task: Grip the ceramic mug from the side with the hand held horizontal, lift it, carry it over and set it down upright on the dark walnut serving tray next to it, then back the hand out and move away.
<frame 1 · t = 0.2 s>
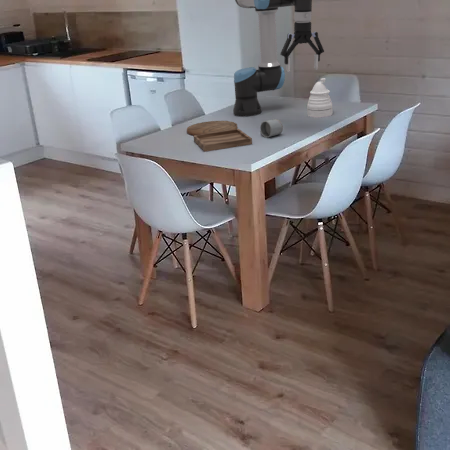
hand: (302, 70, 287), 27 cm above the table, tool pointing down, fingers open, 13 cm apart
ceramic mug: (269, 135, 292), on the table
honey pot: (319, 114, 323), on the table
walnut tray: (222, 142, 287), on the table
trivet: (212, 131, 311), on the table
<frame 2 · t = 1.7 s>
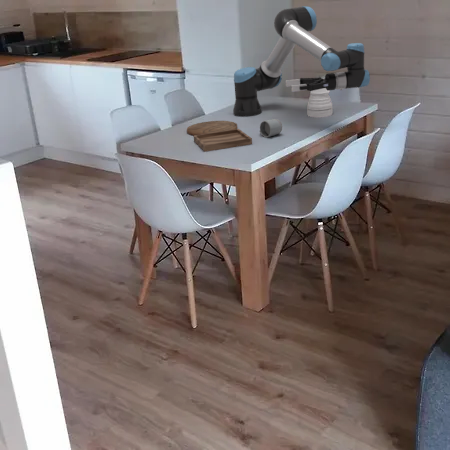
hand: (288, 86, 284), 22 cm above the table, tool horizontal, fingers open, 13 cm apart
nothing on the table moved.
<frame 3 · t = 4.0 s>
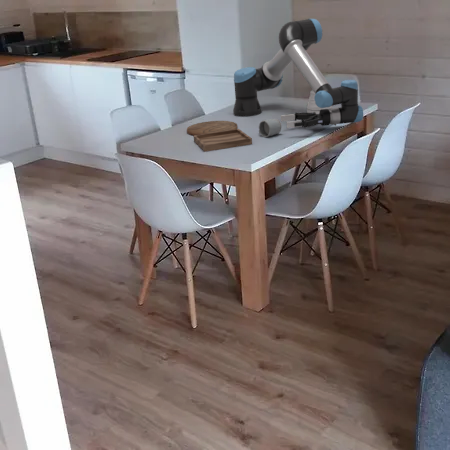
hand: (283, 121, 290), 6 cm above the table, tool horizontal, fingers open, 13 cm apart
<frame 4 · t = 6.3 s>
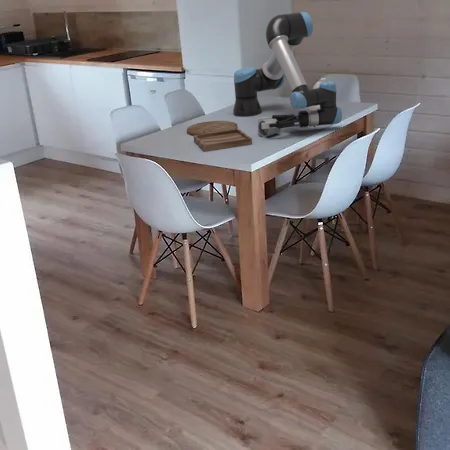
hand: (259, 123, 290), 6 cm above the table, tool horizontal, fingers closed on ceramic mug, 9 cm apart
ceramic mug: (267, 135, 293), on the table, touching gripper
everything else where it was.
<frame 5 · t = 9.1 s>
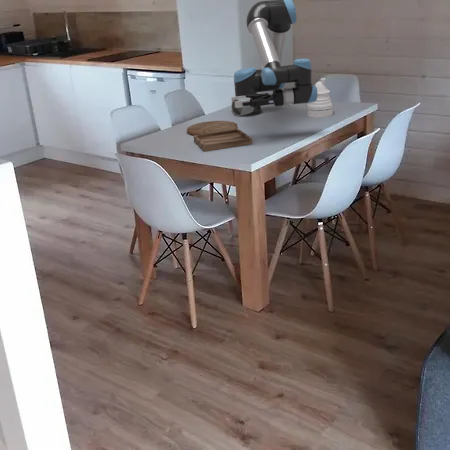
hand: (233, 102, 281), 18 cm above the table, tool horizontal, fingers closed on ceramic mug, 9 cm apart
ceramic mug: (241, 114, 285), point 12 cm above the table, touching gripper
everything else where it was.
when the fingers open (9 cm above the table, at t = 12.0 s): ceramic mug drops 2 cm, resting on walnut tray.
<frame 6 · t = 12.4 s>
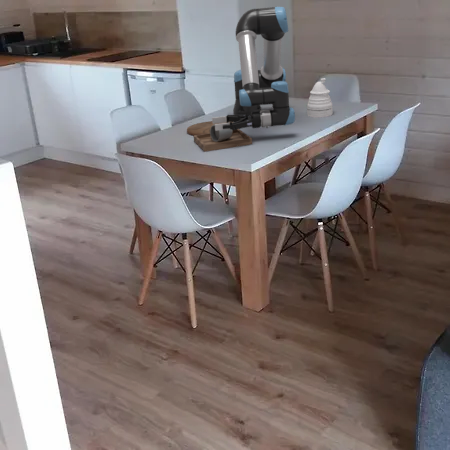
hand: (213, 124, 283), 9 cm above the table, tool horizontal, fingers open, 13 cm apart
ceramic mug: (220, 140, 288), point 1 cm above the table, touching walnut tray
everything else where it was.
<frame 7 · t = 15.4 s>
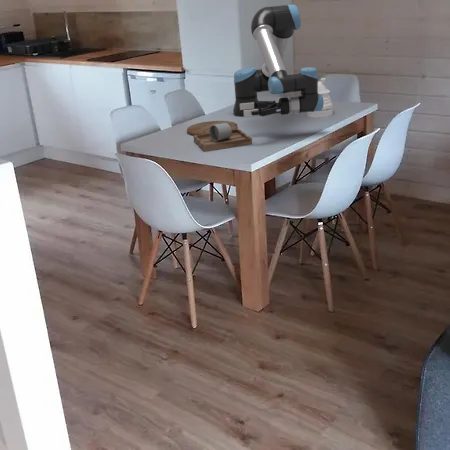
hand: (241, 110, 282), 14 cm above the table, tool horizontal, fingers open, 13 cm apart
nothing on the table moved.
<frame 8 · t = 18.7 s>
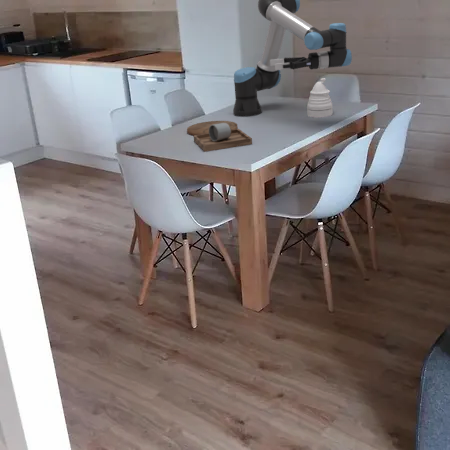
hand: (272, 64, 292), 30 cm above the table, tool horizontal, fingers open, 13 cm apart
nothing on the table moved.
at the end: ceramic mug inside the target area on the walnut tray (2.5 cm from its centre), point 1.0 cm above the walnut tray's base; ceramic mug tilted 1°; the gripper is holding nothing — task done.
